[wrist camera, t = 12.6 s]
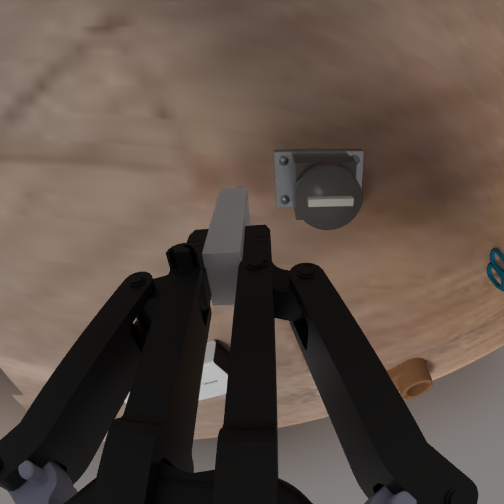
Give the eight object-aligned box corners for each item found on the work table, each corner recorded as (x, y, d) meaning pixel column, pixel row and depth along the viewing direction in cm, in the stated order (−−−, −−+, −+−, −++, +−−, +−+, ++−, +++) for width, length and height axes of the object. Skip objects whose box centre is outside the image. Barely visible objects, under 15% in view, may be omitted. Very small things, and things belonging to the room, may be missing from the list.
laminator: (217, 337, 60) (213, 361, 54) (250, 368, 65) (249, 391, 60) (115, 372, 70) (108, 391, 65) (147, 396, 76) (142, 414, 71)
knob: (291, 206, 42) (297, 234, 36) (290, 152, 38) (296, 170, 32) (346, 205, 42) (361, 232, 35) (349, 151, 38) (366, 169, 31)
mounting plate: (273, 150, 39) (275, 160, 35) (361, 149, 38) (373, 159, 34) (276, 204, 43) (277, 221, 39) (358, 202, 43) (368, 218, 38)
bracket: (419, 352, 62) (428, 375, 56) (427, 366, 65) (435, 387, 59) (355, 385, 69) (360, 408, 63) (368, 396, 72) (372, 417, 66)
